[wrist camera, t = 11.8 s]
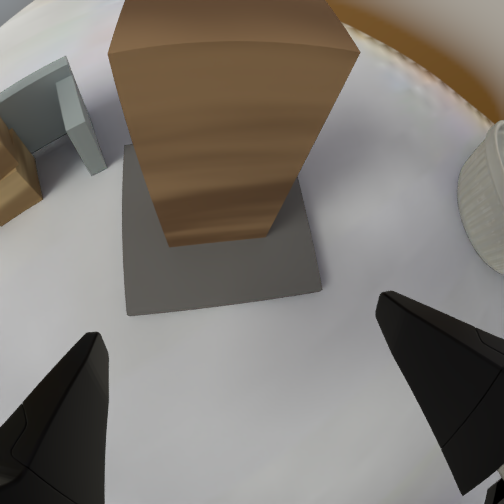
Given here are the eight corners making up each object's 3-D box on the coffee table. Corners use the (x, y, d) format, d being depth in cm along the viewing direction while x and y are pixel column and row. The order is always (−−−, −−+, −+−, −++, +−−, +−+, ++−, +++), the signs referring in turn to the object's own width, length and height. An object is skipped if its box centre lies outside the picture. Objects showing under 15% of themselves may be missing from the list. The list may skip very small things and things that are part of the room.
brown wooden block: (265, 237, 18) (360, 51, 6) (169, 247, 17) (107, 54, 5) (255, 177, 19) (312, -17, 7) (165, 184, 18) (131, -16, 6)
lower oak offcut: (43, 199, 18) (16, 170, 14) (1, 226, 17) (-30, 203, 13) (34, 158, 18) (12, 127, 14) (-5, 184, 17) (-31, 158, 13)
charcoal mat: (283, 136, 21) (285, 131, 21) (319, 291, 18) (322, 289, 18) (126, 150, 19) (124, 145, 19) (129, 316, 16) (126, 315, 16)
